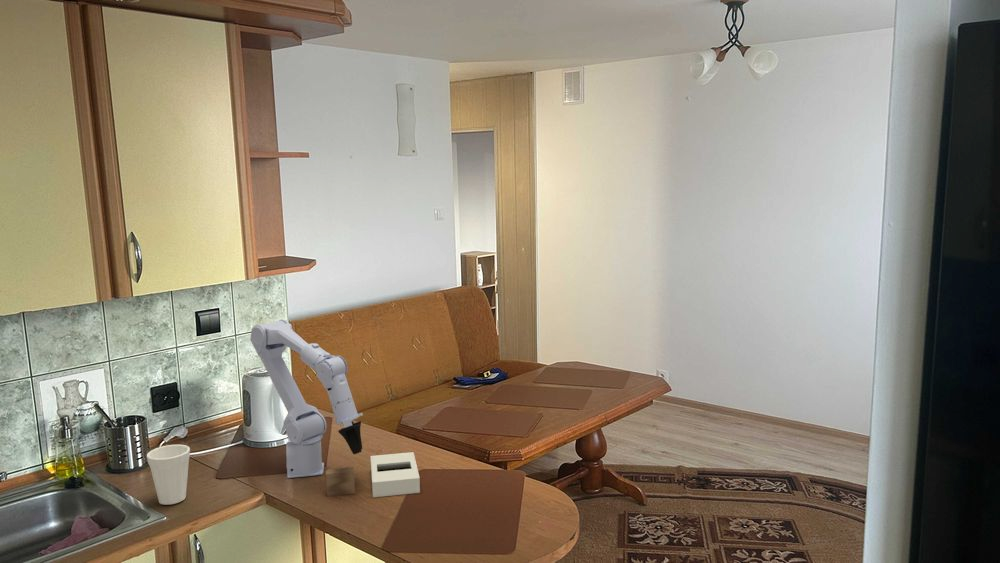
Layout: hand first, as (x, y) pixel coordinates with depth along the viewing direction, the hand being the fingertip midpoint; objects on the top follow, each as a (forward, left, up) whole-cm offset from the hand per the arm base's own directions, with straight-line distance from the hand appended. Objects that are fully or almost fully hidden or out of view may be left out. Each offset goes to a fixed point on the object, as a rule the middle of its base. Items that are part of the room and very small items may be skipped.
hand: (358, 451), depth 183 cm
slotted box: (+9, +2, -10) cm, 14 cm away
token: (-5, -2, -10) cm, 11 cm away
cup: (-47, +3, -10) cm, 48 cm away
